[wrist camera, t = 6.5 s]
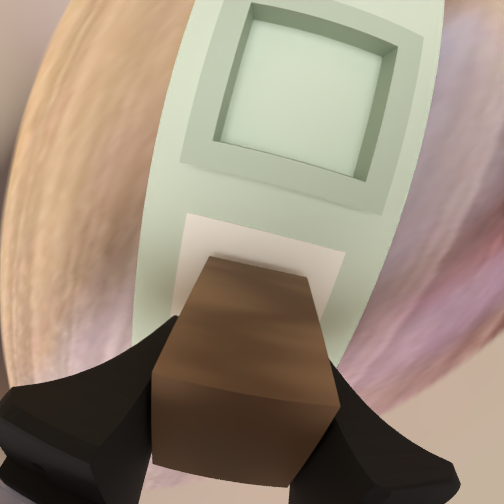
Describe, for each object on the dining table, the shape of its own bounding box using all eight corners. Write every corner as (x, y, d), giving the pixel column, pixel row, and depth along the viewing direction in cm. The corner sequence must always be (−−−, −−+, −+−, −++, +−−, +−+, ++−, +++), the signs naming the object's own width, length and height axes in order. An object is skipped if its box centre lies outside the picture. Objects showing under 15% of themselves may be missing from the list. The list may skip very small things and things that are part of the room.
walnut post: (307, 277, 12) (340, 406, 6) (282, 354, 14) (287, 487, 7) (209, 256, 12) (152, 372, 6) (195, 336, 14) (152, 463, 7)
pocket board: (439, 2, 9) (461, -13, 7) (323, 383, 17) (329, 413, 14) (225, -61, 9) (218, -87, 7) (135, 339, 16) (119, 365, 14)
